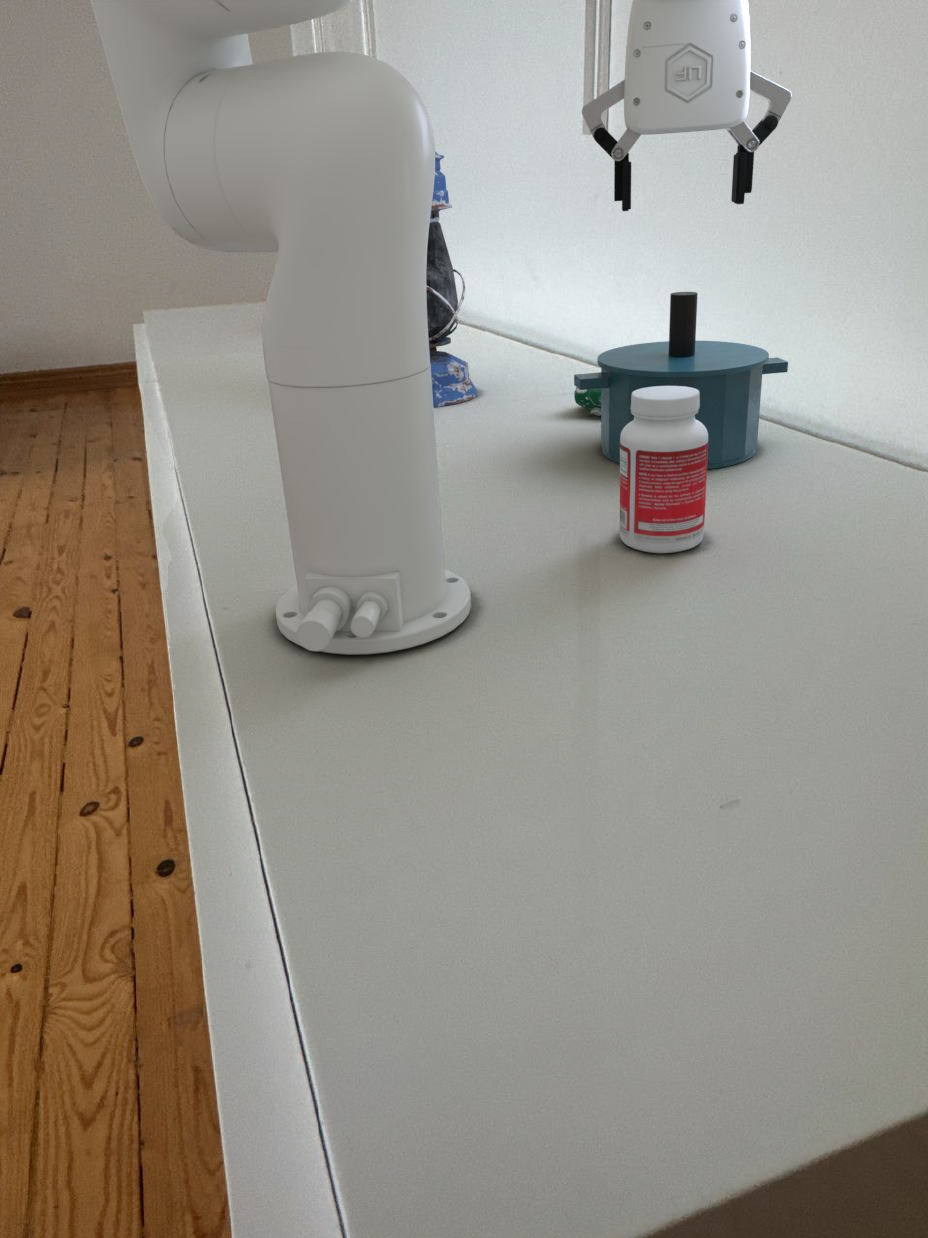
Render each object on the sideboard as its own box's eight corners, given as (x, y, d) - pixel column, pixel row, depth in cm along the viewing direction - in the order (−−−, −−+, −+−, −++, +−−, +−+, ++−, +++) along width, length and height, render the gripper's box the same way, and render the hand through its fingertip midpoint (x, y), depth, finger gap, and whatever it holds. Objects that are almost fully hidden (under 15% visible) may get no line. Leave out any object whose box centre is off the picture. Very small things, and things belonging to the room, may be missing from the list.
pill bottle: (721, 541, 71) (730, 390, 66) (660, 562, 68) (664, 405, 63) (661, 520, 76) (666, 378, 71) (602, 539, 73) (602, 392, 68)
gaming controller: (577, 425, 111) (563, 397, 106) (586, 397, 112) (571, 367, 107) (655, 431, 107) (643, 401, 102) (663, 401, 108) (652, 371, 103)
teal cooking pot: (810, 459, 88) (819, 365, 85) (597, 480, 86) (597, 384, 83) (747, 422, 101) (752, 339, 98) (560, 439, 99) (559, 355, 96)
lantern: (477, 407, 115) (462, 124, 102) (375, 413, 115) (347, 132, 103) (477, 381, 129) (464, 130, 116) (385, 386, 129) (362, 136, 117)
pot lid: (797, 375, 84) (804, 296, 81) (623, 390, 83) (624, 310, 80) (729, 346, 98) (733, 278, 95) (579, 359, 97) (579, 290, 94)
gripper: (579, -21, 76) (582, 215, 83) (809, -43, 73) (790, 202, 81) (581, -8, 82) (583, 210, 90) (791, -27, 80) (775, 198, 87)
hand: (681, 206), depth 85 cm, fingers open, 9 cm apart
